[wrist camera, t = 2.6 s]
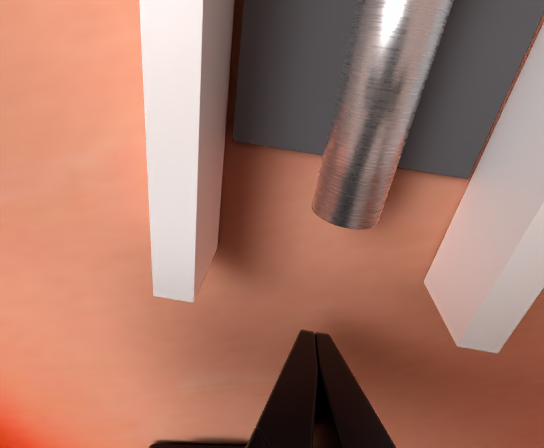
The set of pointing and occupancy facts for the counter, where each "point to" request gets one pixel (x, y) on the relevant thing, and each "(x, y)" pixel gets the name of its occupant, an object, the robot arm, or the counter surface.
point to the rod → (376, 106)
